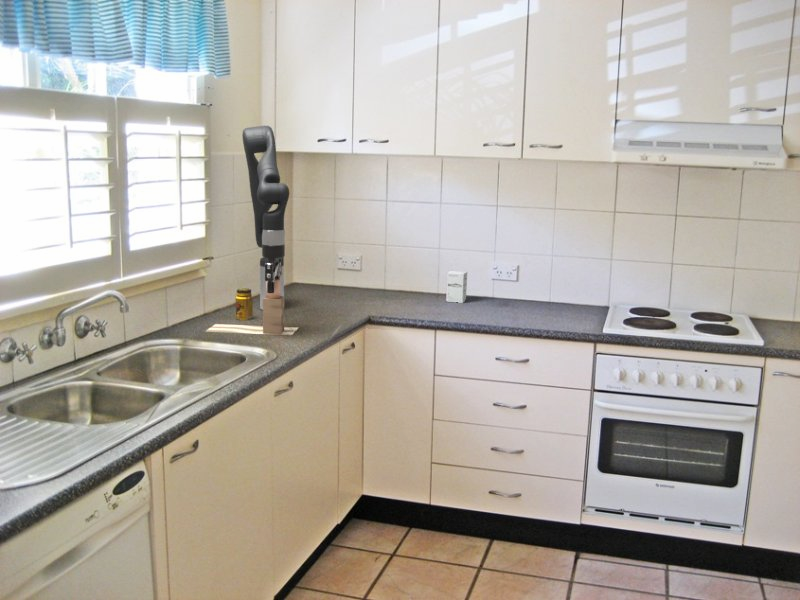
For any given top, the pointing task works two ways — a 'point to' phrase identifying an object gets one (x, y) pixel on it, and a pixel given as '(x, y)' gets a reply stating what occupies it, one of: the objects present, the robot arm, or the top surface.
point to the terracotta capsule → (275, 290)
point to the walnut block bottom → (273, 325)
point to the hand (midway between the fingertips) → (273, 290)
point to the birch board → (246, 329)
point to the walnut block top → (273, 307)
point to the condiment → (244, 305)
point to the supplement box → (456, 286)
